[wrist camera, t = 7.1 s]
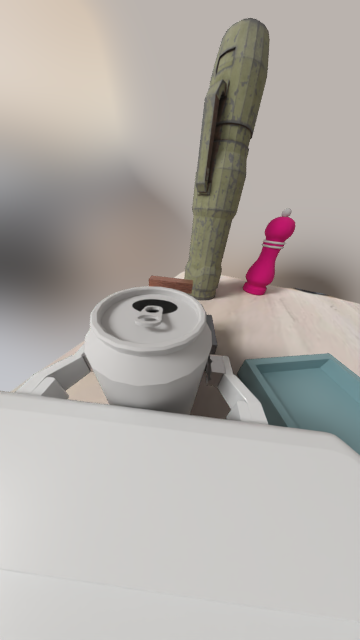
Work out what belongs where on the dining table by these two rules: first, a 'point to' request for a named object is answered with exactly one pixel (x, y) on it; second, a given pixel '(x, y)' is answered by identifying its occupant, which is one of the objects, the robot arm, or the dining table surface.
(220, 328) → the dining table surface
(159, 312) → the can
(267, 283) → the pepper mill
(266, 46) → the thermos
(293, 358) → the tray
